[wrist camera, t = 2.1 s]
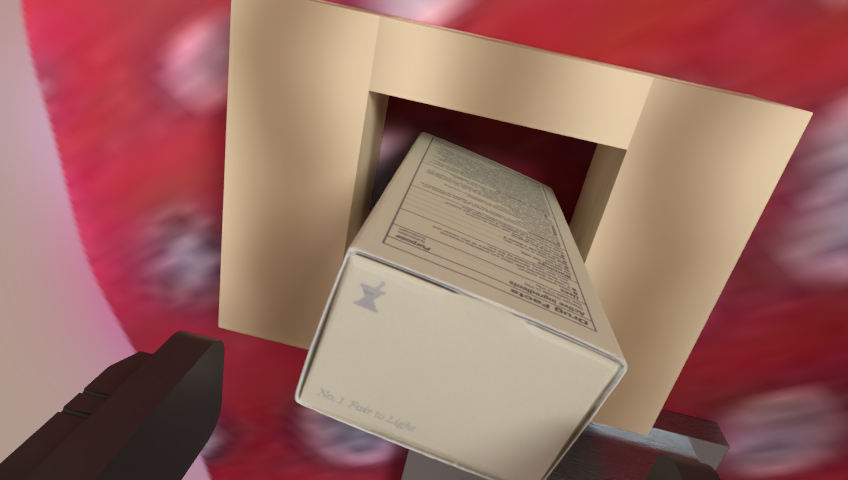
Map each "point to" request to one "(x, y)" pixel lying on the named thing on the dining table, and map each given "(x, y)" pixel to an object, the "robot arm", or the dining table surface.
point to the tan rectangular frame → (506, 101)
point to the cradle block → (607, 452)
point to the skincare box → (464, 321)
